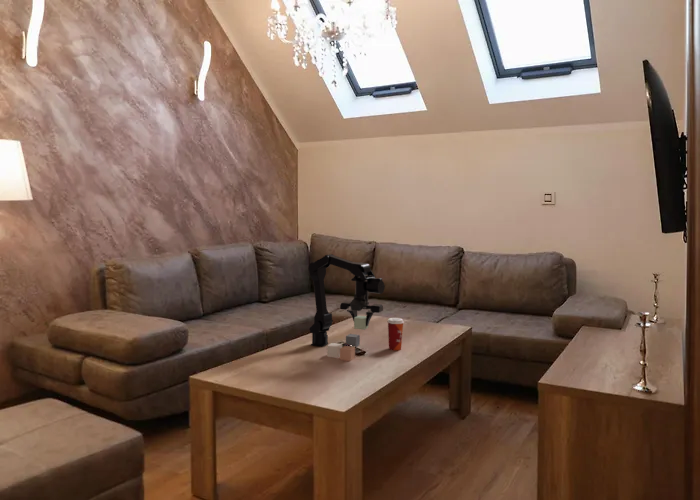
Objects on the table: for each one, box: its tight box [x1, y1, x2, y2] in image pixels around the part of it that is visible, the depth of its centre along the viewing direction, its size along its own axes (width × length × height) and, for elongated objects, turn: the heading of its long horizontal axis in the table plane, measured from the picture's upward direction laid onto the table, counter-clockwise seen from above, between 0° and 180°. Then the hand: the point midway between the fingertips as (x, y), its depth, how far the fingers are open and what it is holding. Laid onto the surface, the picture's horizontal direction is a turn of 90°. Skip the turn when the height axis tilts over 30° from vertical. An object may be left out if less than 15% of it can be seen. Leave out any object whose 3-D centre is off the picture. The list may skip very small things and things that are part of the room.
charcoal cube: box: [345, 333, 361, 348], centre depth 268 cm, size 5×5×5 cm
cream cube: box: [326, 342, 343, 359], centre depth 251 cm, size 5×5×5 cm
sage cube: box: [353, 315, 369, 331], centre depth 254 cm, size 5×5×5 cm
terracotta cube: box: [339, 345, 356, 362], centre depth 246 cm, size 5×5×5 cm
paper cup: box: [387, 317, 405, 351], centre depth 262 cm, size 8×8×14 cm
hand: (361, 325), depth 254 cm, fingers closed on sage cube, 5 cm apart
